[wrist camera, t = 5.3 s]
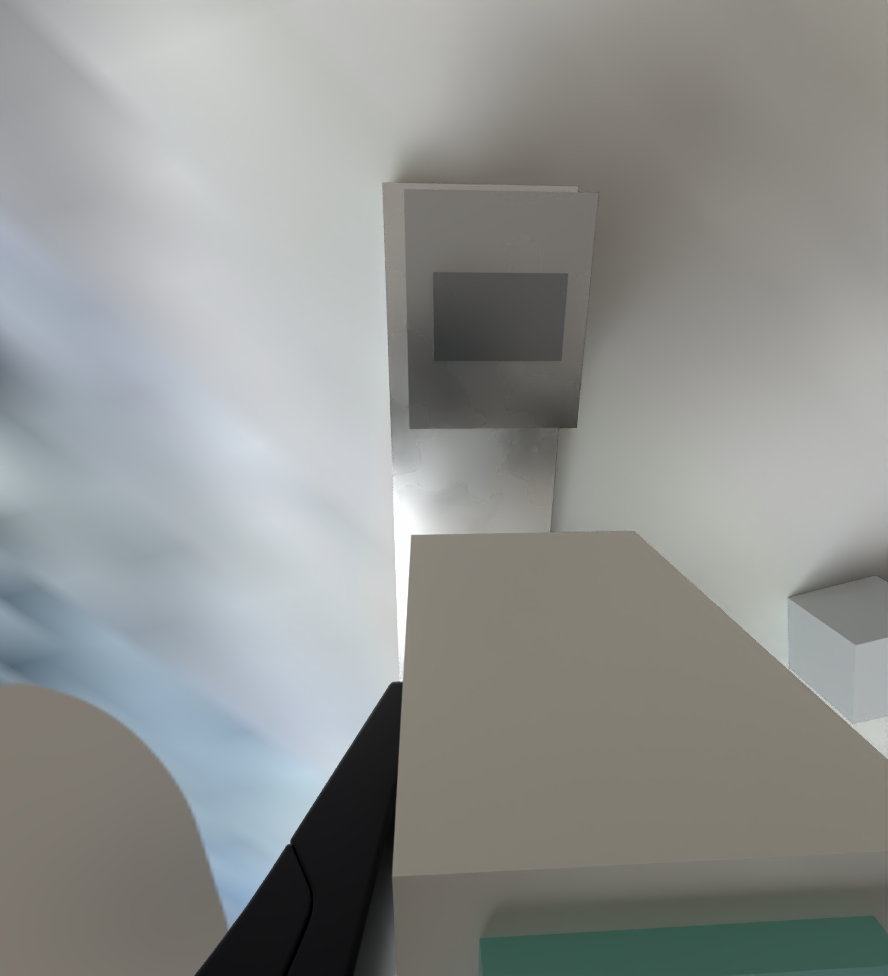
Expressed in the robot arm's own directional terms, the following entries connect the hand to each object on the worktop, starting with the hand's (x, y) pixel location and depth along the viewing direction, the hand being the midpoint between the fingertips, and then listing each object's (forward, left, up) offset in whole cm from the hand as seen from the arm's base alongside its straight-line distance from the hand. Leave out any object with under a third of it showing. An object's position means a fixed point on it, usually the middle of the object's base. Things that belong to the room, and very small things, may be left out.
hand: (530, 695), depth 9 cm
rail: (0, 0, -10) cm, 10 cm away
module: (0, 0, -1) cm, 1 cm away
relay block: (-17, +6, -10) cm, 21 cm away
